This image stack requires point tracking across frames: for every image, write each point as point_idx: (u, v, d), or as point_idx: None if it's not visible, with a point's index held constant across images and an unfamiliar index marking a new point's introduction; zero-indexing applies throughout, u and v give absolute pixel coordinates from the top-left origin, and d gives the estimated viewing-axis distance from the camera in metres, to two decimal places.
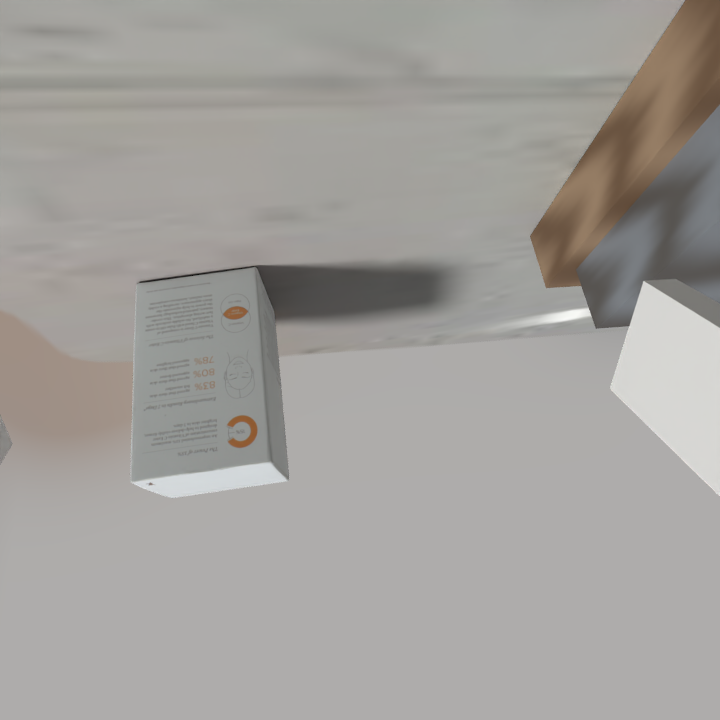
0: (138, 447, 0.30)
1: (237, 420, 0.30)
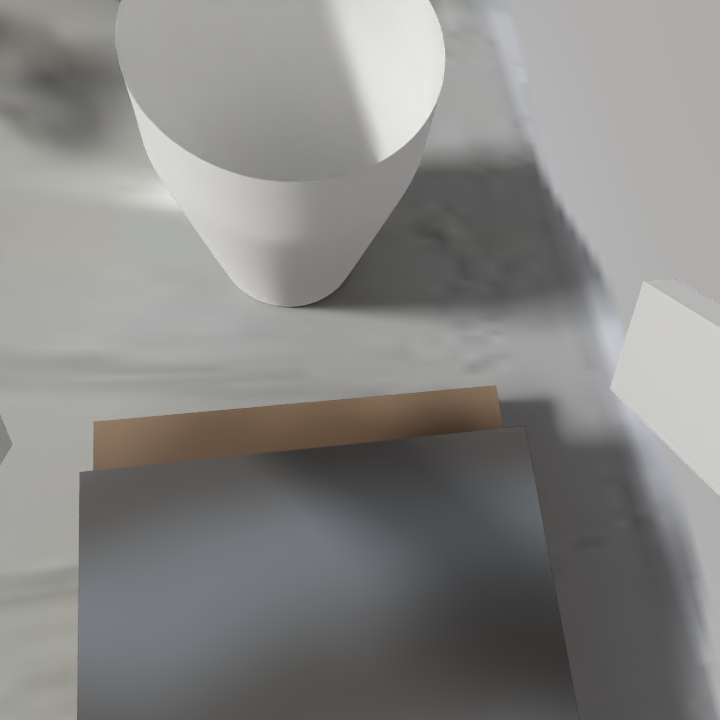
0: None
1: None
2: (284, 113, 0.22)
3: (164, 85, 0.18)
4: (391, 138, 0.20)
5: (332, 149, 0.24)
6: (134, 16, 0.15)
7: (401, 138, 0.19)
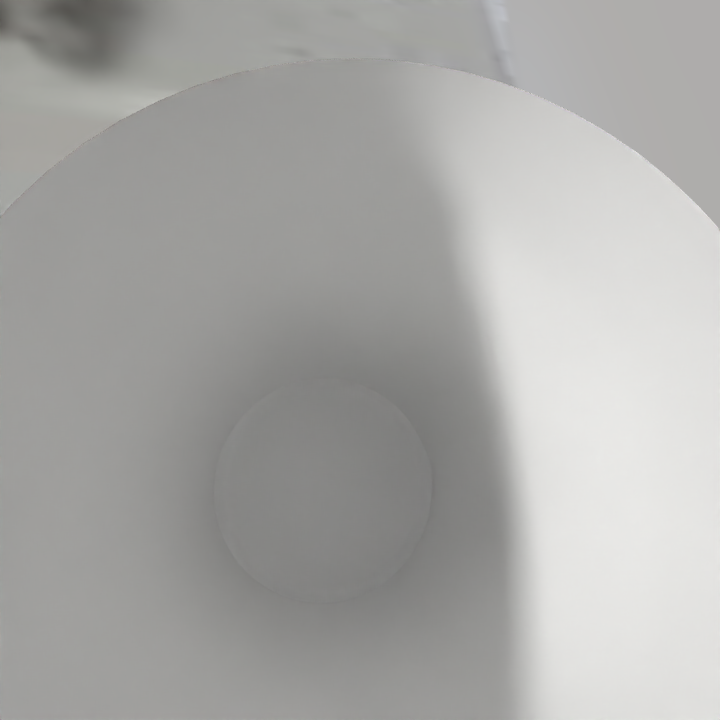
0: None
1: None
2: (327, 321, 0.13)
3: (98, 379, 0.08)
4: (533, 407, 0.11)
5: (403, 362, 0.14)
6: None
7: (564, 428, 0.10)
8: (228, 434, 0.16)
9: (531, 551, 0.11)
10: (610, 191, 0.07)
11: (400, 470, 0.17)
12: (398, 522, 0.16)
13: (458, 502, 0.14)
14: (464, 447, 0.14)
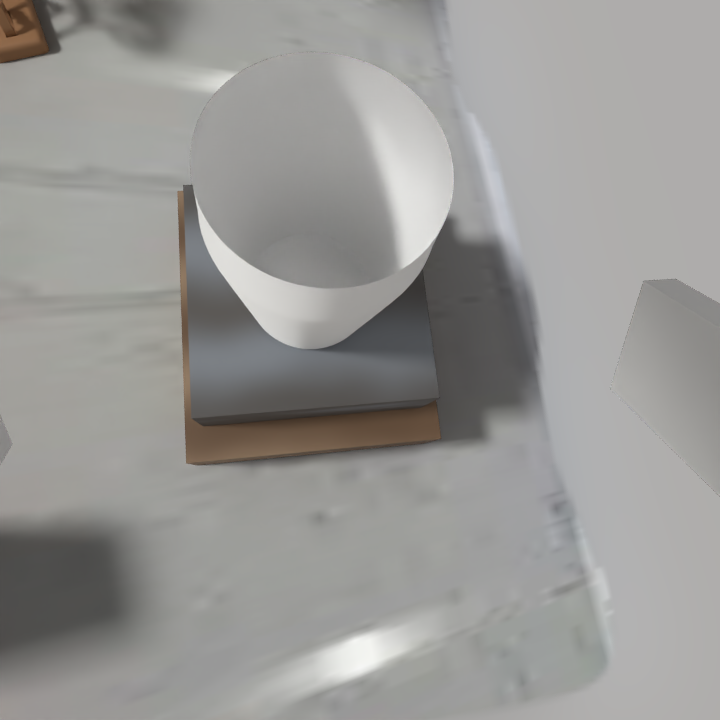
0: None
1: None
2: (309, 184, 0.26)
3: (215, 178, 0.21)
4: (404, 215, 0.24)
5: (351, 213, 0.27)
6: (200, 139, 0.18)
7: (414, 219, 0.23)
8: (255, 260, 0.29)
9: None
10: (402, 98, 0.19)
11: (352, 285, 0.29)
12: None
13: None
14: (382, 258, 0.27)
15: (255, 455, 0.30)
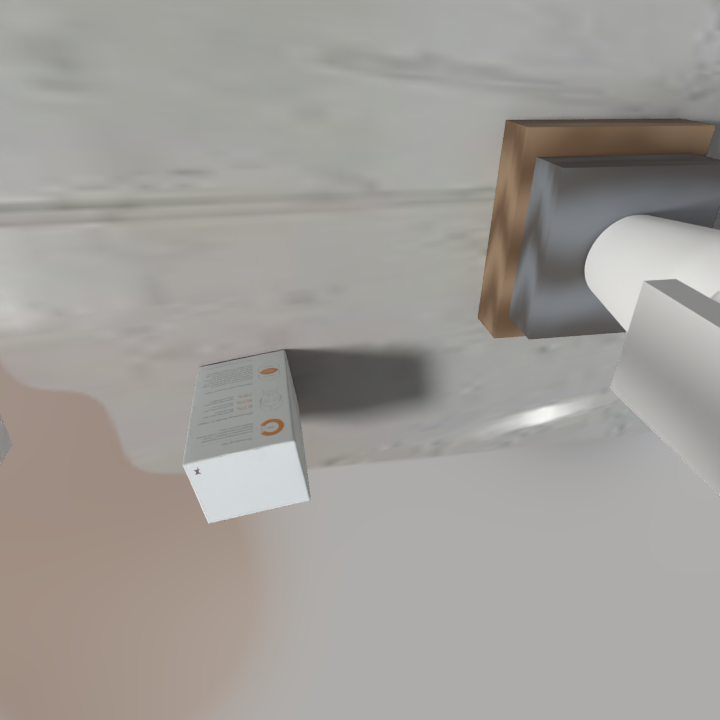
0: (191, 445, 0.38)
1: (268, 422, 0.39)
2: (683, 223, 0.34)
3: None
4: None
5: None
6: None
7: None
8: None
9: None
10: None
11: None
12: None
13: None
14: None
15: None
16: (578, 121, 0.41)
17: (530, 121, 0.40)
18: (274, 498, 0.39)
